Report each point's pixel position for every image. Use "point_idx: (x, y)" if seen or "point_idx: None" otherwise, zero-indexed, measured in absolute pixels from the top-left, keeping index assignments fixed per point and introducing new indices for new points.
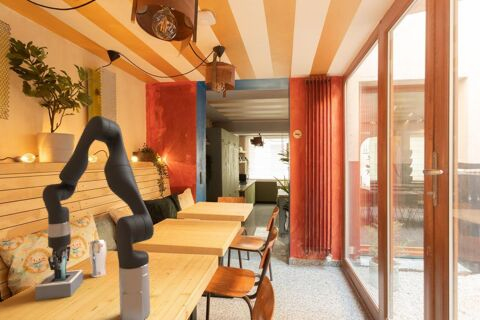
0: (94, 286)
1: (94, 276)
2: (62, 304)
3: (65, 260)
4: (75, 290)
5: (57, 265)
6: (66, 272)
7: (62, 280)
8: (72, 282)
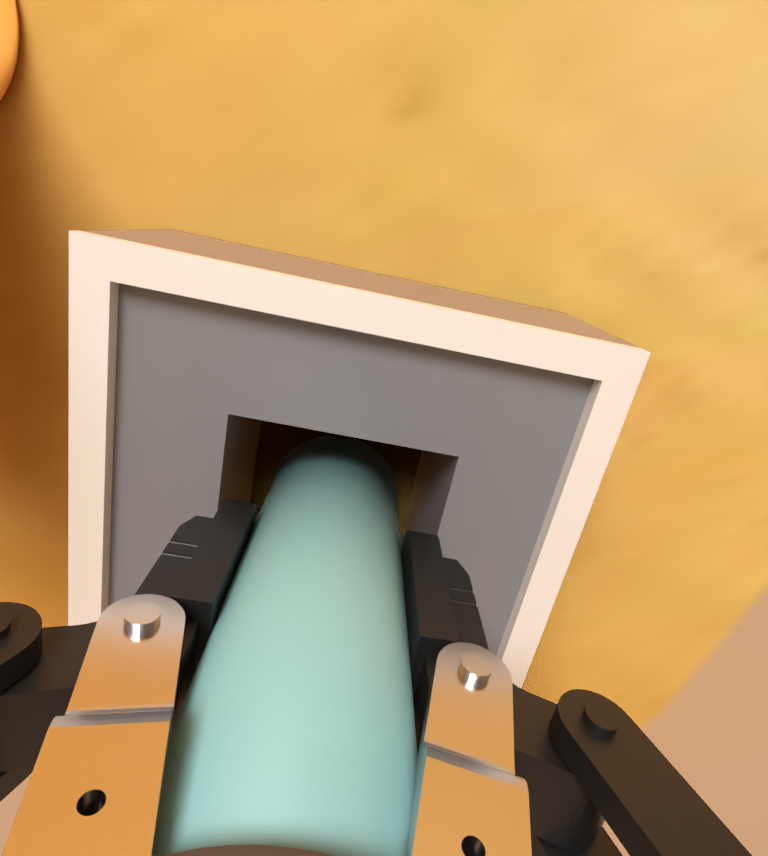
0: (388, 23)
1: (6, 63)
2: (724, 365)
3: (166, 701)
4: (429, 285)
5: (675, 810)
6: (110, 500)
7: (386, 491)
8: (557, 329)
